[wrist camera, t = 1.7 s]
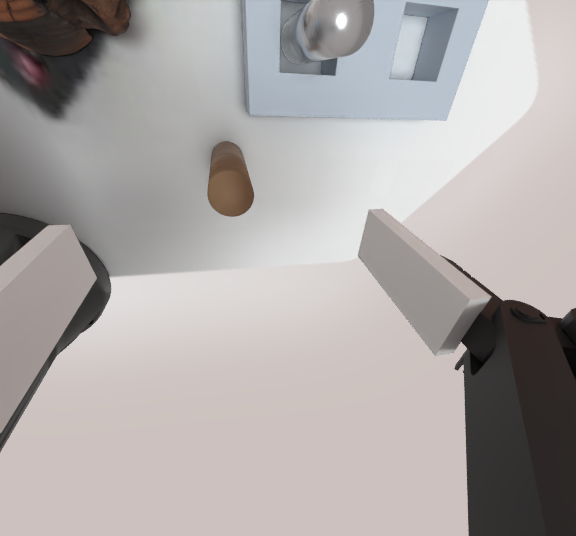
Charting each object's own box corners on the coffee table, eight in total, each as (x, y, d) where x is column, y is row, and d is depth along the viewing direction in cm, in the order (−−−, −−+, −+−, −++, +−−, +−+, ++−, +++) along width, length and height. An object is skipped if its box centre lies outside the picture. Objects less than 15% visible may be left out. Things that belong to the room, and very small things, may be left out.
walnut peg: (213, 174, 25) (210, 217, 18) (209, 141, 24) (204, 172, 16) (244, 174, 26) (254, 215, 18) (242, 141, 24) (252, 172, 16)
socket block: (246, 111, 23) (249, 115, 20) (238, -65, 17) (241, -93, 14) (422, 116, 26) (446, 120, 24) (466, -29, 21) (504, -45, 18)
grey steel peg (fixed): (280, 63, 21) (315, 54, 14) (281, 13, 20) (321, -31, 12) (314, 65, 22) (367, 58, 14) (318, 17, 20) (380, -22, 12)
